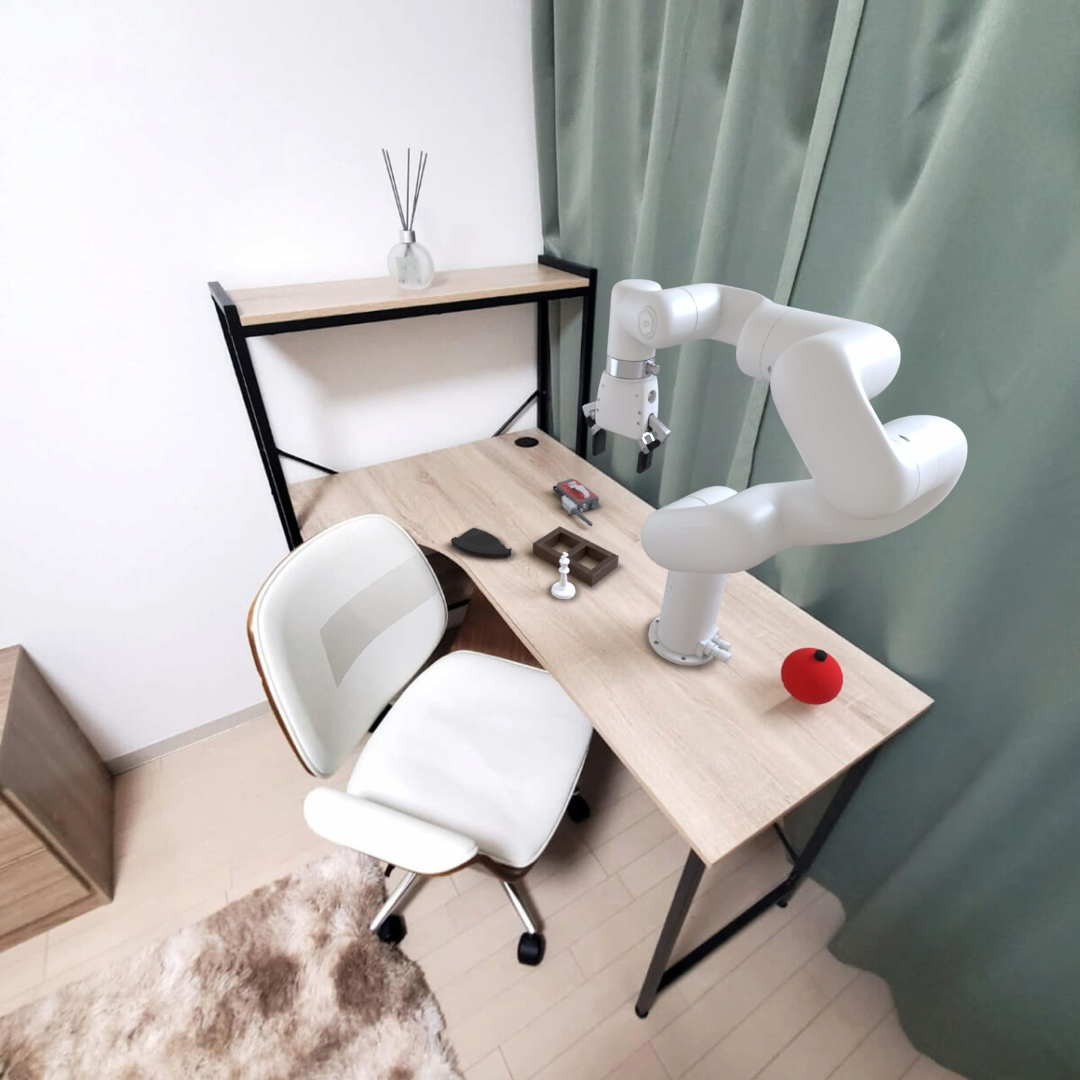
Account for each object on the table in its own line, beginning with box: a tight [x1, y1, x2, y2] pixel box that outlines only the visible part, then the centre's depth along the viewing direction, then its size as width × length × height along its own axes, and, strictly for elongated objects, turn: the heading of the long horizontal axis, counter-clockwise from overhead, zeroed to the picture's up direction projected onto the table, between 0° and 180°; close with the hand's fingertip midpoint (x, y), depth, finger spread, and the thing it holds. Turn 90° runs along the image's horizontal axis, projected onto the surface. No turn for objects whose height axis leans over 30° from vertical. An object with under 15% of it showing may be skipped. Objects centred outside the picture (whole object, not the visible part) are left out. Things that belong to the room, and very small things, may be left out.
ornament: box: [780, 647, 844, 706], centre depth 85 cm, size 9×9×10 cm
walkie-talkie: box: [552, 478, 600, 527], centre depth 134 cm, size 9×4×20 cm
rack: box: [532, 526, 619, 588], centre depth 117 cm, size 17×9×3 cm, turn 47°
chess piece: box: [551, 551, 576, 600], centre depth 106 cm, size 5×5×10 cm
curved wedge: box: [450, 527, 513, 559], centre depth 120 cm, size 8×14×2 cm, turn 52°
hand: (620, 461), depth 95 cm, fingers open, 9 cm apart
